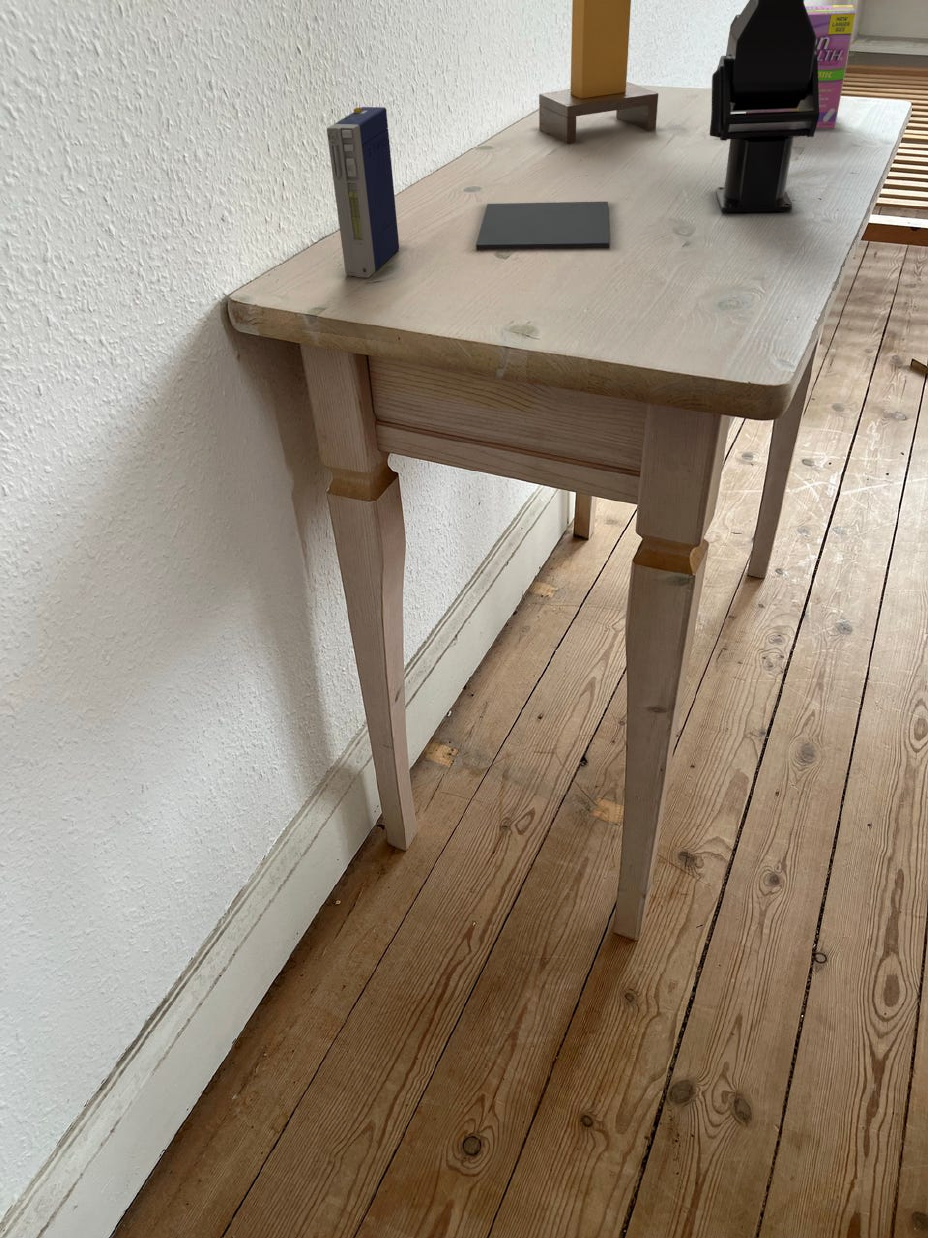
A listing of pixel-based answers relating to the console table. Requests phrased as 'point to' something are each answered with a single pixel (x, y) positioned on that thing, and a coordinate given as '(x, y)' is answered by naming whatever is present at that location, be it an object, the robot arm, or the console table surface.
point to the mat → (545, 225)
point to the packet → (599, 47)
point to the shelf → (596, 110)
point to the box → (830, 57)
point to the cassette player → (364, 189)
